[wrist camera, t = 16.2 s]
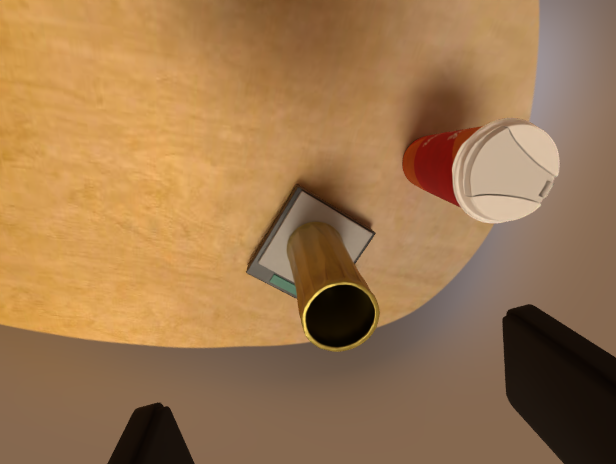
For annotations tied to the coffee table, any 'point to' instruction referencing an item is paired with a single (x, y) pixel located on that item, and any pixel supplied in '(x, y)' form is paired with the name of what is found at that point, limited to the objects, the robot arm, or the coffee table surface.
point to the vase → (330, 289)
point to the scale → (296, 212)
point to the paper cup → (486, 168)
